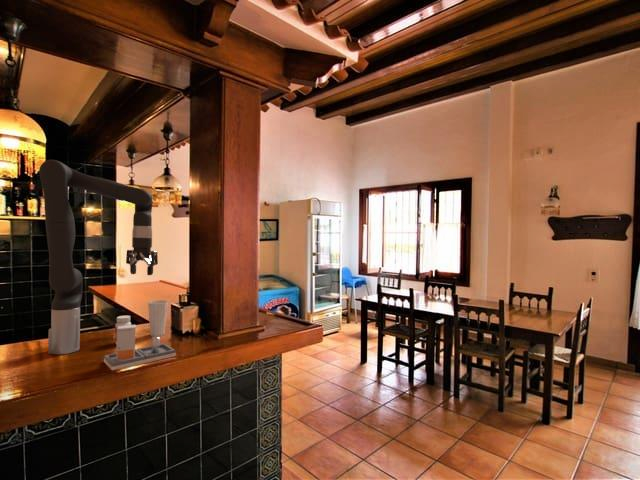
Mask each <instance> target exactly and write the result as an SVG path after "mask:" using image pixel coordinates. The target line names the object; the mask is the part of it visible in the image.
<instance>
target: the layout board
mask: <svg viewBox="0 0 640 480" xmlns="http://www.w3.org/2000/svg"><path fill="white" fill-rule="evenodd" d="M173 357H176V349H174V348H173V347H171V346H170V345H168V344H166V343H161V336H151V345H150V346H145V347H139V348H137V349H136V348H135V358H132V359H127V360H122V361H116V352H113V353H110V354H109V353H108V354H105V355H104V358H103V362H104V363H105V365H106V366H107V367H108V368H109V369H110V370H111V371H116V370H121V369H124V368H130V367H134V366H138V365H143V364H146V363H151V362H155V361H160V360H164V359H168V358H173Z"/></svg>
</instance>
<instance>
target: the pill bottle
mask: <svg viewBox="0 0 640 480" xmlns="http://www.w3.org/2000/svg"><path fill="white" fill-rule="evenodd" d="M114 325H115V326H114V344H116V345H117V326H125V325H132V322H131V315H119V316H117V317H116V323H115V324H114Z"/></svg>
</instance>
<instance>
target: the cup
mask: <svg viewBox="0 0 640 480" xmlns="http://www.w3.org/2000/svg"><path fill="white" fill-rule="evenodd" d="M168 303H169V301H167V300H163V299H162V300H160V299H158V300H152V301H148V303H147V304H148V305H147V307H148V320H149V333H150V335H149V336H151V337H154V336H160V337H162V336H164V335H165V332H166V324H167V313H168V306H169V304H168Z"/></svg>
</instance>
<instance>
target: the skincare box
mask: <svg viewBox="0 0 640 480" xmlns="http://www.w3.org/2000/svg"><path fill="white" fill-rule="evenodd" d="M136 327H137V326H136V324H131V325H125V326H117V344H116V352H115V353H116V361H122V360H127V359H132V358H135V349H136V332H137V331H136V329H137V328H136Z"/></svg>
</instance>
